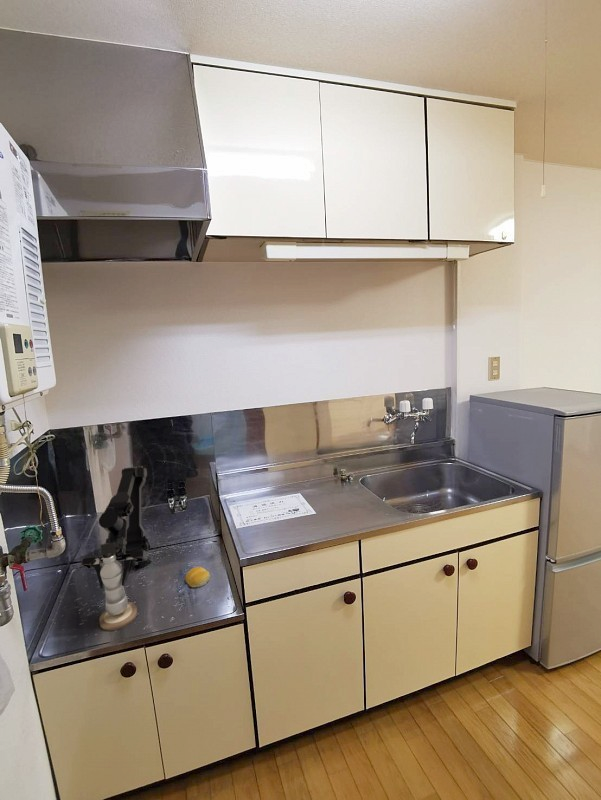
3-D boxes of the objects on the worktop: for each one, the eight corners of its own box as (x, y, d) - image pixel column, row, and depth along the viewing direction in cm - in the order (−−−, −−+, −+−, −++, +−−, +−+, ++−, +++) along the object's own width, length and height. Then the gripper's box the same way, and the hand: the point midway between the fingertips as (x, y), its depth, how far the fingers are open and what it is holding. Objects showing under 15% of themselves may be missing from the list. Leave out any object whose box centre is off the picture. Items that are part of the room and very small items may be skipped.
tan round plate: (94, 619, 126) (93, 615, 126) (127, 600, 134) (126, 596, 134) (109, 636, 119) (108, 631, 119) (143, 614, 127) (142, 610, 127)
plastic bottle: (103, 619, 123) (93, 562, 119) (111, 604, 129) (102, 549, 125) (124, 617, 123) (115, 560, 119) (131, 602, 130) (123, 547, 126)
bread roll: (193, 591, 137) (192, 581, 136) (182, 580, 144) (181, 570, 143) (214, 580, 142) (213, 571, 142) (203, 570, 149) (202, 560, 148)
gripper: (78, 534, 123) (70, 587, 115) (140, 526, 126) (136, 577, 118) (90, 543, 133) (84, 593, 124) (148, 535, 135) (145, 584, 127)
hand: (112, 587), depth 123 cm, fingers closed on plastic bottle, 6 cm apart
